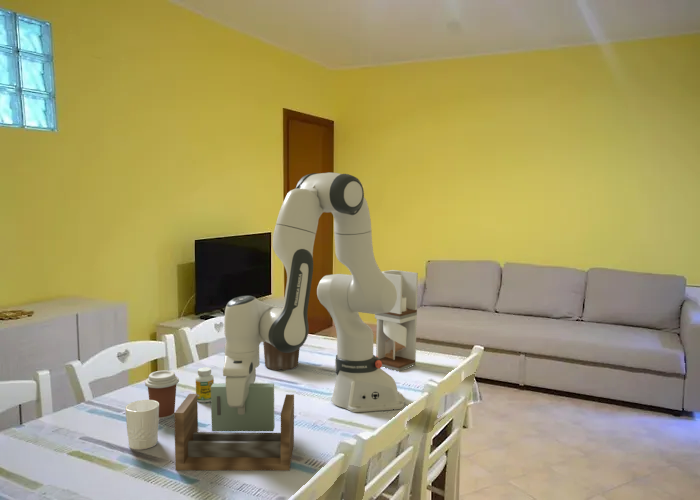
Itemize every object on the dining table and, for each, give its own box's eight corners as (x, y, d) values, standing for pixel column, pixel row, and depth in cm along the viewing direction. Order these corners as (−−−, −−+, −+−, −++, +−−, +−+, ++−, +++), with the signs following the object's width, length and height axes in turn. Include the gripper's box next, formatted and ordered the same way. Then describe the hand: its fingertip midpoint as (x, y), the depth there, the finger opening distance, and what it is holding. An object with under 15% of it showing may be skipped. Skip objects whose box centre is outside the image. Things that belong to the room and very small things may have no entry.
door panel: (274, 427, 144) (274, 383, 142) (273, 431, 141) (272, 387, 140) (214, 427, 144) (213, 383, 142) (211, 431, 141) (210, 387, 140)
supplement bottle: (210, 395, 170) (210, 365, 169) (216, 400, 166) (216, 370, 165) (193, 398, 167) (193, 368, 166) (199, 404, 163) (198, 373, 162)
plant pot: (312, 363, 204) (313, 321, 202) (286, 375, 190) (286, 330, 188) (278, 356, 212) (278, 316, 210) (250, 367, 198) (250, 324, 197)
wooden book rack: (293, 446, 136) (294, 394, 135) (289, 470, 124) (289, 413, 123) (190, 445, 136) (189, 393, 135) (175, 469, 124) (174, 412, 123)
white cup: (132, 437, 140) (131, 399, 139) (163, 436, 141) (162, 399, 140) (122, 451, 132) (120, 412, 131) (155, 450, 133) (154, 411, 132)
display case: (374, 364, 203) (375, 272, 200) (391, 358, 211) (393, 269, 208) (398, 371, 196) (401, 275, 192) (415, 365, 204) (417, 272, 200)
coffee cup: (141, 413, 156) (140, 372, 154) (173, 406, 161) (172, 367, 160) (151, 424, 148) (150, 381, 147) (184, 416, 154) (183, 375, 152)
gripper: (238, 347, 151) (239, 395, 152) (221, 372, 130) (222, 427, 132) (260, 347, 151) (261, 395, 152) (247, 372, 130) (248, 427, 132)
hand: (243, 410), depth 142 cm, fingers closed on door panel, 2 cm apart
